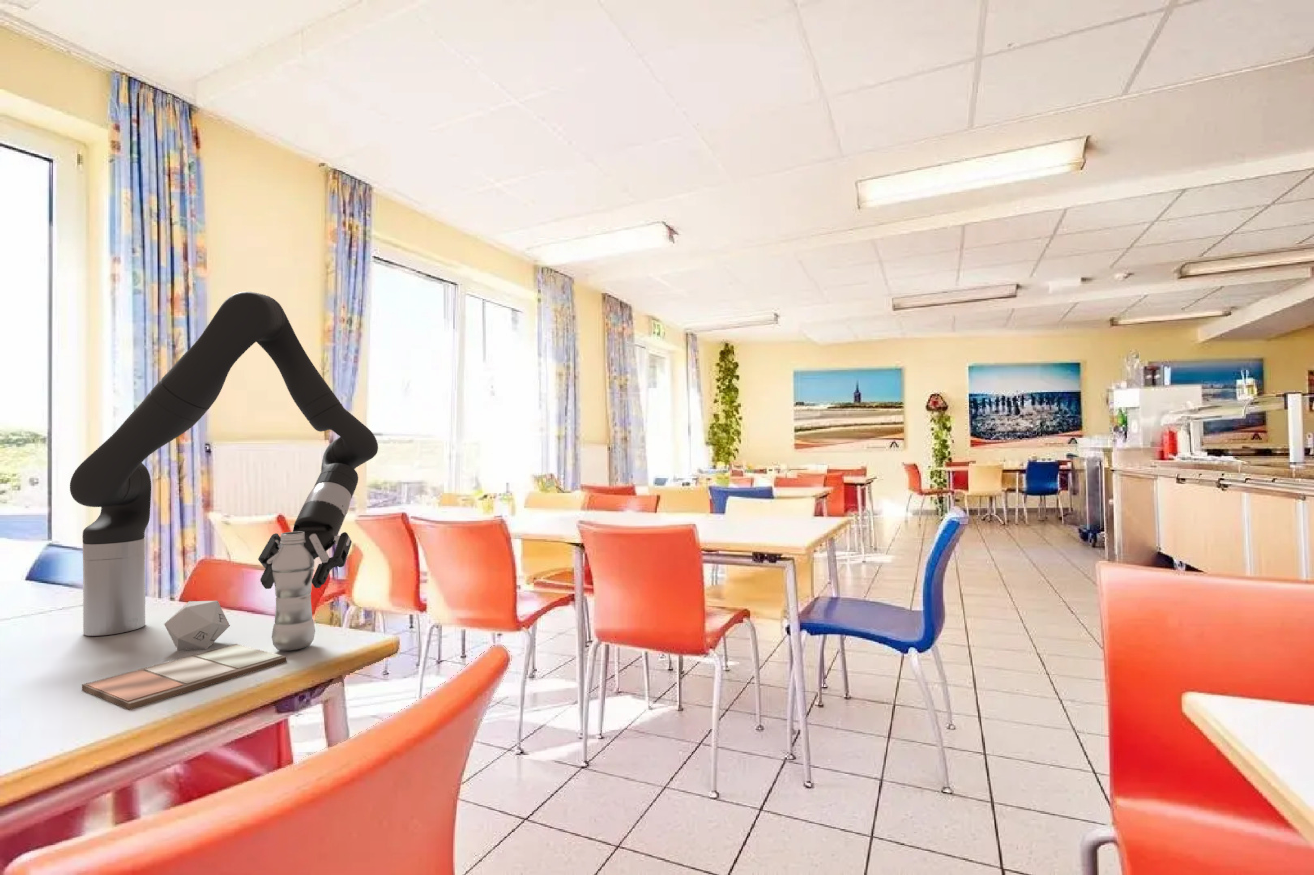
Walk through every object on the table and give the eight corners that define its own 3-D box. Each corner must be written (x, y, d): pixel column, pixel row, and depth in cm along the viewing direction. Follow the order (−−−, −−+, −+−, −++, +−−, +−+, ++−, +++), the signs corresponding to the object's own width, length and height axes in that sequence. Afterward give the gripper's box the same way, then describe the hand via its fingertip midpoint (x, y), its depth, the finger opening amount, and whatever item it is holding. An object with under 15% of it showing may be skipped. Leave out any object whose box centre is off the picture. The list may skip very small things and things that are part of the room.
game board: (81, 689, 93) (81, 683, 93) (236, 648, 111) (236, 643, 111) (129, 709, 85) (129, 702, 85) (286, 661, 104) (286, 656, 104)
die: (179, 662, 106) (221, 610, 110) (142, 634, 108) (184, 584, 111) (210, 663, 114) (249, 615, 117) (175, 638, 116) (214, 591, 119)
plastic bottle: (298, 641, 115) (297, 529, 115) (324, 646, 112) (322, 531, 112) (263, 652, 109) (261, 534, 109) (288, 657, 106) (287, 536, 106)
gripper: (278, 499, 118) (238, 574, 107) (355, 498, 118) (324, 572, 107) (294, 524, 124) (258, 598, 112) (368, 523, 124) (340, 597, 112)
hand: (290, 586), depth 109 cm, fingers open, 8 cm apart
